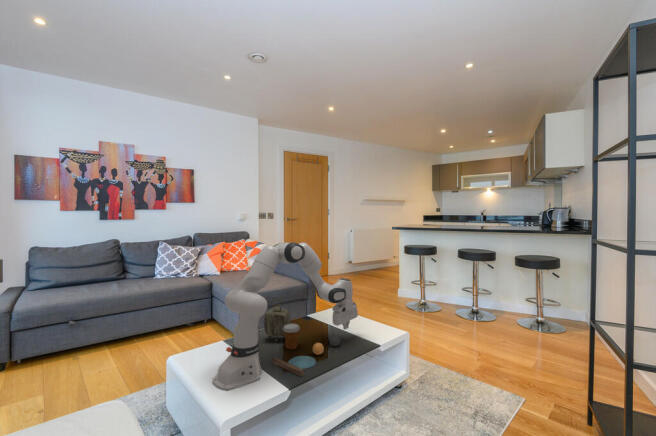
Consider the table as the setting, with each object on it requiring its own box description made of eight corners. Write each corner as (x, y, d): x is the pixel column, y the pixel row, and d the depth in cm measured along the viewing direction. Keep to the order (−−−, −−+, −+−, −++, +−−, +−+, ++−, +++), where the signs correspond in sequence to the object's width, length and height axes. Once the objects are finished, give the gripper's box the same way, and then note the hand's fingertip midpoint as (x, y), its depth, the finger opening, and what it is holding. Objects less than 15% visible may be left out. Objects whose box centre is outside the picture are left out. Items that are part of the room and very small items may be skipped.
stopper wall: (300, 376, 145) (300, 371, 145) (273, 363, 158) (273, 358, 158) (303, 375, 146) (303, 369, 146) (276, 362, 160) (276, 357, 160)
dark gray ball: (335, 349, 175) (335, 338, 175) (327, 346, 179) (327, 335, 179) (342, 345, 179) (342, 335, 179) (334, 343, 183) (334, 332, 183)
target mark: (301, 371, 149) (301, 371, 149) (282, 363, 159) (282, 362, 159) (321, 361, 160) (321, 361, 160) (302, 353, 169) (302, 353, 169)
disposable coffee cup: (279, 348, 176) (279, 327, 176) (289, 342, 184) (289, 322, 184) (293, 352, 172) (293, 330, 172) (303, 345, 180) (302, 324, 180)
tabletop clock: (290, 337, 192) (290, 297, 192) (287, 343, 183) (286, 301, 183) (267, 337, 193) (267, 296, 193) (263, 343, 184) (262, 300, 184)
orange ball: (318, 357, 164) (318, 346, 164) (310, 354, 168) (310, 343, 168) (326, 354, 169) (325, 342, 169) (318, 350, 173) (317, 340, 173)
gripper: (351, 300, 196) (352, 322, 196) (330, 308, 181) (331, 332, 181) (360, 302, 192) (360, 324, 192) (338, 310, 177) (339, 335, 177)
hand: (346, 328), depth 187 cm, fingers closed
